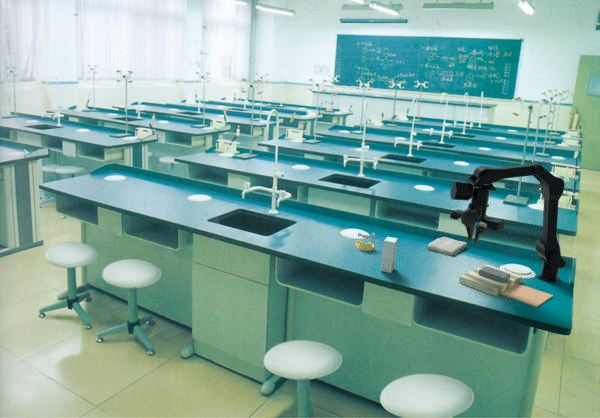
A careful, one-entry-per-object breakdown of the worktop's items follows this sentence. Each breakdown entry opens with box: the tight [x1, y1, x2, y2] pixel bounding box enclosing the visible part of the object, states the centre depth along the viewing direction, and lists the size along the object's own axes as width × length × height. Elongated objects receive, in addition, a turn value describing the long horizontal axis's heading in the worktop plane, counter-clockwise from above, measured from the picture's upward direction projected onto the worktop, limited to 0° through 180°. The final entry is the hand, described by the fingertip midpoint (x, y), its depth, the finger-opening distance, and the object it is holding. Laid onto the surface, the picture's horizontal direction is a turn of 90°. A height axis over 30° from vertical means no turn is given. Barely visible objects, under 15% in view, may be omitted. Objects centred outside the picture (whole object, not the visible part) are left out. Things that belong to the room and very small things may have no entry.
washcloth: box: [426, 236, 468, 257], centre depth 216 cm, size 12×18×3 cm, turn 143°
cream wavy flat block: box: [458, 264, 523, 297], centre depth 181 cm, size 20×14×2 cm
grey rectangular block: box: [478, 266, 511, 283], centre depth 180 cm, size 6×9×2 cm, turn 44°
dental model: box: [354, 232, 376, 251], centre depth 209 cm, size 8×7×7 cm
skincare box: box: [379, 236, 399, 274], centre depth 186 cm, size 6×4×12 cm
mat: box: [499, 283, 554, 308], centre depth 172 cm, size 14×12×1 cm
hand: (472, 241), depth 184 cm, fingers closed
